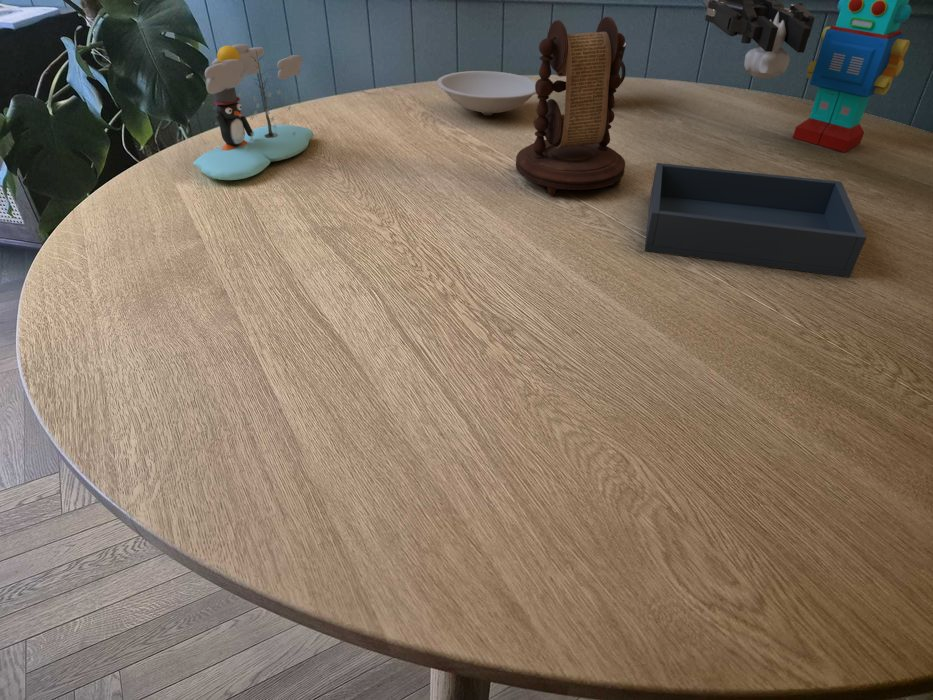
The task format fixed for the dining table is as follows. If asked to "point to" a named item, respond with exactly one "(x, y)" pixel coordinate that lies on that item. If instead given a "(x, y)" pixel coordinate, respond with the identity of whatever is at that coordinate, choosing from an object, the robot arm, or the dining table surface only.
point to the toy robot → (853, 69)
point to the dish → (487, 90)
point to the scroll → (576, 111)
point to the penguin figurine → (254, 146)
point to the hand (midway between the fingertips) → (788, 40)
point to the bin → (753, 219)
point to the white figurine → (768, 56)
